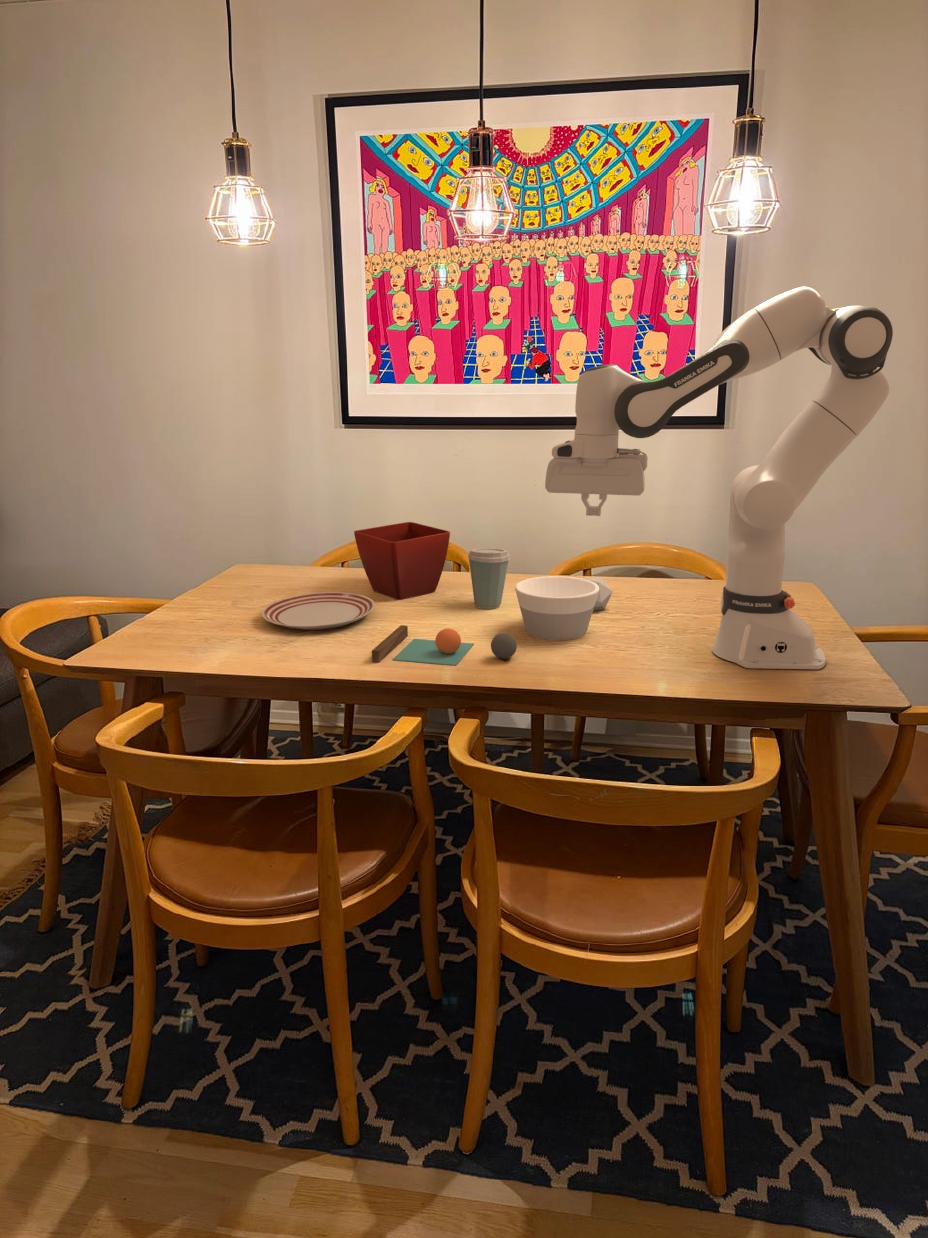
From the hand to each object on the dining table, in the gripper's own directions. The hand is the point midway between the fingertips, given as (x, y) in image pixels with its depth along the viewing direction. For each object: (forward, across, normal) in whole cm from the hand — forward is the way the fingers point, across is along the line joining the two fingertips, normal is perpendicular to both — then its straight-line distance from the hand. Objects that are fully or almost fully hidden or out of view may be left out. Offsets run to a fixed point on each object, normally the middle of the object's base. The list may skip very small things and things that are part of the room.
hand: (593, 515), depth 175 cm
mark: (+29, +32, +11) cm, 45 cm away
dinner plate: (+30, +67, -6) cm, 73 cm away
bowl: (+29, +9, -10) cm, 32 cm away
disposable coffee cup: (+29, +29, -26) cm, 49 cm away
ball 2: (+26, +16, +11) cm, 33 cm away
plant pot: (+29, +55, -34) cm, 71 cm away
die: (+29, +3, -30) cm, 42 cm away
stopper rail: (+29, +42, +11) cm, 52 cm away
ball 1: (+26, +29, +11) cm, 41 cm away
